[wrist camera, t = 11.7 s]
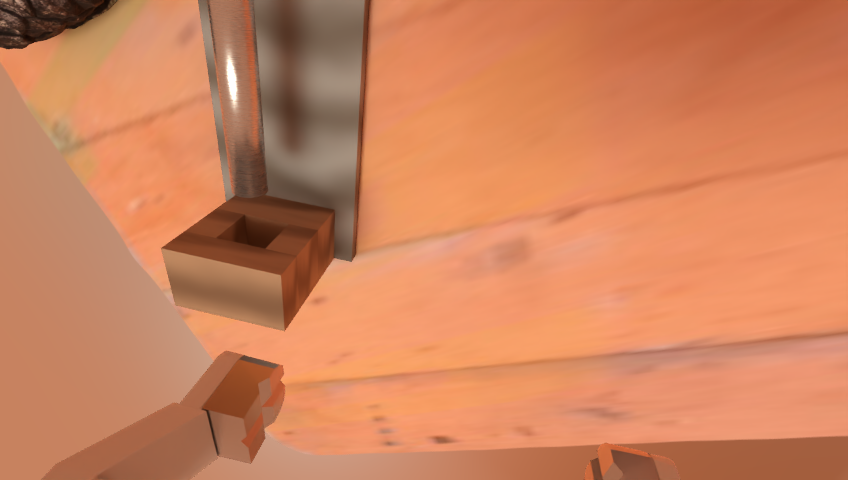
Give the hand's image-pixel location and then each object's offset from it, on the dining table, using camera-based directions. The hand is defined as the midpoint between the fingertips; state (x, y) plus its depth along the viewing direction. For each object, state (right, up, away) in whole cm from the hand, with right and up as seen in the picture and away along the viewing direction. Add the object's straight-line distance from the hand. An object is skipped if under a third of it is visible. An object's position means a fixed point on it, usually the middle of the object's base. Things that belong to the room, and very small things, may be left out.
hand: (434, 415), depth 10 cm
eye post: (-13, +18, +27) cm, 34 cm away
